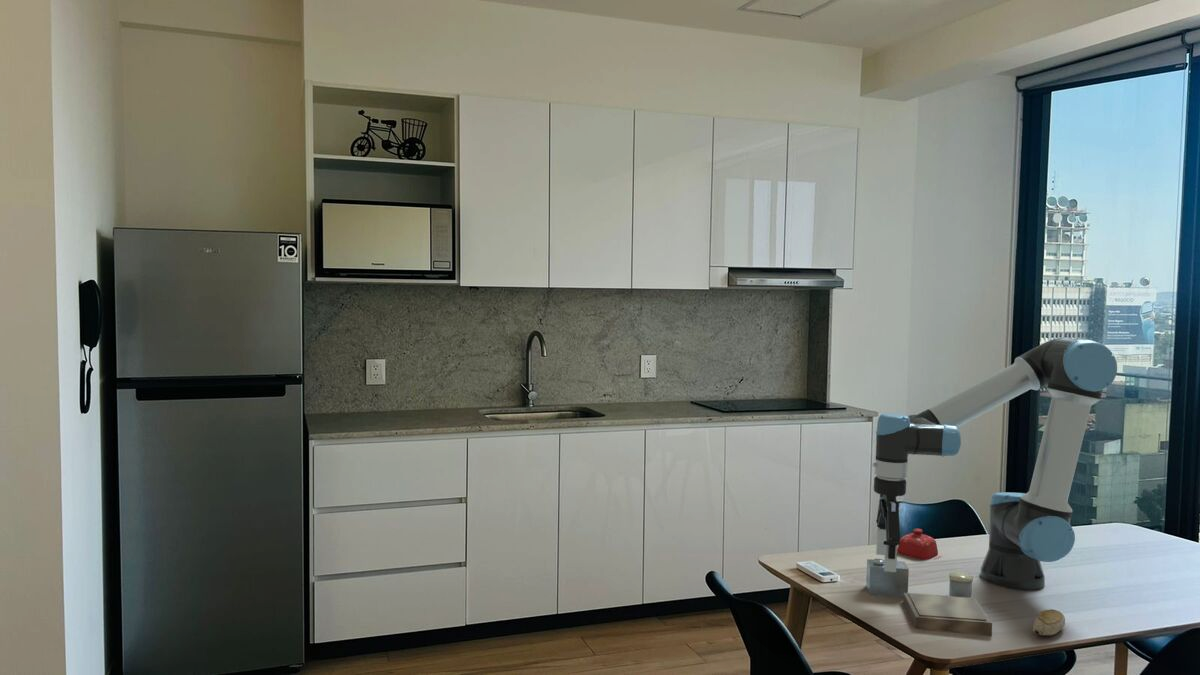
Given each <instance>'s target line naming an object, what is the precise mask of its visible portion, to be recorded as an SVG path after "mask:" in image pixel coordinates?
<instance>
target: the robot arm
mask: <svg viewBox="0 0 1200 675" xmlns="http://www.w3.org/2000/svg"><path fill="white" fill-rule="evenodd" d="M1117 372H1118V363H1117V358H1116V356H1115V355H1114V353H1113V352H1112V350H1111V349H1109V347H1107V346H1106V345H1105V344H1103V343H1100V342H1098V341H1095V340H1091V339H1086V338H1085V339H1083V338H1071V337H1057V338H1053V339H1050V340H1047V341H1046V342H1044V343H1041V344H1039V345H1038V346H1036V347H1034V348H1031V349H1029V350H1028V351H1026V352H1024V353H1023V354H1020V355H1019V356H1017V357H1015V359H1014V362H1013V363H1012V364H1011V365H1008V366H1006V367H1004V368H1003V369H1001V370H999V371H998V372H996V373H993V374H992V375H990V376H988V377H986V378H984V379H983V380H979V381H978V382H976V383H975V384H973V385H971V386H969V387H967V388H965V389H964V390H961V391H959V392H958V393H956V394H954V395H952V396H951V397H948V398H946V399H945V400H942V401H940V402H939V403H937V404H935V405H933V406H931V407H929V408H928V409H926V410H923V411H921V412H919V413H918V414H909V415H905V414H898V413H897V414H896V413H883V414H881V415H880V416H879V417H878V418H877V426H876V432H875V433H876V437H875V438H876V439H875V442H876V443H875V462H873V463H872V467H874V475H875V477H873V480H874V481H873V491H874V492H875V493H876V494H878V495H879V500H878V509H877V515H876V521H875V522H876V524H877V525H876V526H877V530H876V531H877V532H876V548H875V549H876V550H875V554H876V555H879V556H884V559H883V560H884V571H888V572H896V565H897V561H898V553H897V548H898V545H899V544H900V542H899V541H900V518H899V517H900V515H899V512H900V509H899V508H900V503H899V502H898V501H897V497H903V496H905V495H906V493H907V480H906V478H907V477H908V465H909V462H908V459H909V458H908V457H909V455H914V456H915V455H918V456H920V455H921V456H936V457H937V456H938V457H940V456H941V457H942V458H943V457H953V456H954V457H955V456H956V455H958V453H959V451H960V450H961V444H962V438H961V432H960V430H959V427H961V426H963V425H965V424H966V423H968V422H970V421H972V420H974V419H976V418H978V417H980V416H982V415H984V414H986V413H988V412H989V411H991V410H993V409H995V408H997V407H999V406H1001V405H1003V404H1005V403H1007V402H1009V401H1011V400H1013V399H1014V398H1016V397H1019V396H1020V395H1022V394H1024V393H1026V392H1028V391H1029V390H1034V391H1039V390H1041V389H1043V388H1044V387H1045V388H1046V390H1047V391H1048V392H1049V394H1050V396H1051V398H1050V399H1051V400H1050V404H1049V407H1048V412H1047V415H1046V416H1047V417H1046V421H1045V425H1044V428H1043V432H1042V437H1041V440H1040V445H1039V450H1038V453H1037V456H1036V461H1035V465H1034V470H1033V472H1032V473H1033V474H1032V478H1031V482H1030V486H1029V489H1028V491H1027V492H1026V493H1025V492H1009V491H1008V492H1006V491H1005V492H996V493H995V492H994V493H993V494H992V495H991V497H990V503H989V529H988V531H989V533H988V534H989V536H988V539H989V540H988V550H987V552H986V554H985V557H984V560H983V562H982V564H981V567H980V577H981V578H982V580H984V581H986V582H987V583H989V584H991V585H994V586H997V587H1001V588H1005V589H1010V590H1017V591H1019V590H1020V591H1034V590H1039V589H1042V588H1044V587H1045V580H1046V578H1045V574H1044V570H1043V566H1042V564H1041V562H1044V563H1053V562H1057V561H1059V560H1061V559H1063V558H1065V557H1066V556H1068V555H1069V554H1070V553H1071V551H1072V549H1073V548H1074V545H1075V542H1076V535H1075V534H1076V533H1075V530H1074V529H1073V527H1072V525H1071V519H1072V515H1073V509H1072V507H1071V506H1070V505H1071V504H1069V502H1068V500H1069V496H1070V493H1071V489H1072V485H1073V480H1074V477H1075V472H1076V469H1077V464H1078V460H1079V456H1080V452H1081V450H1082V449H1081V448H1082V446H1083V445H1082V444H1083V442H1084V441H1083V440H1084V436H1085V432H1086V429H1087V424H1088V419H1089V416H1090V411H1091V408H1092V406H1093V405H1095V404H1096V403H1098V402H1100V401H1101V398H1102V395H1103V391H1104V389H1106V388H1107V387H1109V386H1110V385H1111V384H1113V382H1114V381H1115V379H1116V378H1117V375H1118V373H1117Z"/></svg>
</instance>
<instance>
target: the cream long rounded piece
mask: <svg viewBox="0 0 1200 675" xmlns="http://www.w3.org/2000/svg"><path fill="white" fill-rule="evenodd" d="M1065 624H1066V616H1065V614H1064V613H1063V612H1061V611H1059V610H1056V609H1052V608H1051V609H1045V610H1042V611H1041V612H1040V613H1038V614H1037V616H1036V617H1035V619H1034V622H1033V625H1032V632H1033V633H1035V634H1036V635H1039V636H1043V637H1044V636H1053V635H1056V634H1058V632H1060V631H1062V629H1064V627H1065Z"/></svg>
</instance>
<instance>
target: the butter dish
mask: <svg viewBox="0 0 1200 675" xmlns="http://www.w3.org/2000/svg"><path fill="white" fill-rule="evenodd" d="M912 531H913V532H911V533H908V534H905V535H903V536H902V537H901V538H899V542H900V544H899V545H898V547H897V554H900V555H903V556H906V557H909V558H910V557H911V558H913V559H917V560H922V561H927V560H930V559H933V561H934V560H937V559H939V558H942V557H943V555H941V556H938V555H939V551H938V544H937V541H936V539H935V538H933V537H932V536H930V535H927V534H923V529H921V528H914V529H913V530H912ZM935 557H936V558H935Z"/></svg>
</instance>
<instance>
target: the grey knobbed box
mask: <svg viewBox="0 0 1200 675" xmlns="http://www.w3.org/2000/svg"><path fill="white" fill-rule="evenodd" d="M909 570H910V569H909V567H908V566H907V563H906V562H905V561H900V560H897V565H896V572H888V571H884V559H883V558H873V559H869V558H868V559H866V578H865V580H866V581H865V587H866V589H867V592H868V595H870V596H879V597H890V598H891V597H892V598H902V599H903V596H904V593H909Z"/></svg>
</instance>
